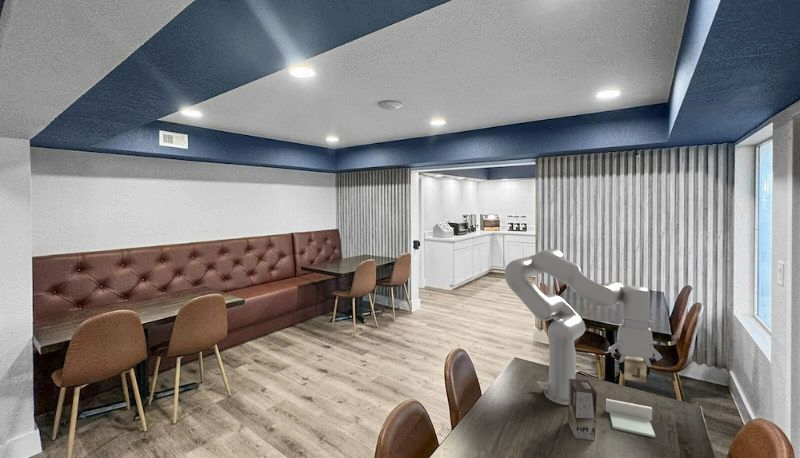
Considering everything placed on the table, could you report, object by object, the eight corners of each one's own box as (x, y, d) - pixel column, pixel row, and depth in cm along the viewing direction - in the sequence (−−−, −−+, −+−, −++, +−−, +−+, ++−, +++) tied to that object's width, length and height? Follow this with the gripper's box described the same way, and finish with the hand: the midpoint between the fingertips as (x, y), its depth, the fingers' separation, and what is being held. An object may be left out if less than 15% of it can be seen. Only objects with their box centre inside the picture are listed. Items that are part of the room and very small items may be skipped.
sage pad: (612, 428, 120) (613, 426, 120) (609, 413, 129) (609, 411, 129) (655, 437, 116) (655, 435, 115) (648, 421, 124) (649, 419, 124)
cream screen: (606, 411, 130) (606, 400, 129) (605, 410, 131) (606, 398, 131) (651, 421, 124) (652, 408, 124) (650, 419, 125) (651, 407, 125)
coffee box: (596, 440, 115) (597, 393, 113) (574, 438, 116) (575, 391, 114) (587, 423, 123) (588, 379, 122) (567, 421, 125) (568, 377, 123)
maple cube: (642, 374, 122) (642, 357, 122) (646, 383, 116) (646, 365, 116) (621, 371, 125) (622, 355, 124) (624, 379, 119) (625, 362, 118)
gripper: (663, 322, 119) (661, 374, 120) (604, 316, 126) (603, 365, 127) (669, 330, 112) (667, 384, 113) (607, 323, 119) (606, 374, 121)
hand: (633, 373), depth 120 cm, fingers closed on maple cube, 6 cm apart
